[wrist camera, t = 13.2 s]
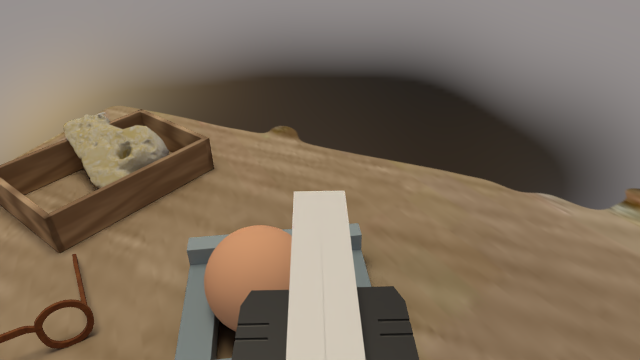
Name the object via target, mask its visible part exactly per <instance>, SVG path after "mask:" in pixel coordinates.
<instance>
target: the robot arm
mask: <svg viewBox="0 0 640 360" xmlns="http://www.w3.org/2000/svg"><path fill="white" fill-rule="evenodd" d="M237 324H238V326H237V329H236V336H235V342H234V348H233V354H232V360H419V357H418V353H417V349H416V345H415V340H414V337H413V332H412V328H411V324H410V322H409V315H408V311H407V307H406V303H405V300H404V299H403V298H402V297H401V295H400V294H399V293H398V292H397V290H396V289H395V288H394V287H393V286H389V287H357V286H356V278H355V270H354V262H353V254H352V246H351V238H350V230H349V222H348V213H347V205H346V197H345V191H300V192H294V202H293V223H292V244H291V265H290V285H289V290H251V292H250V293H249V294H248V296H247V297H246V299H245V300H244V302H243V303H242V304H241V306H240V311H239V317H238V323H237Z"/></svg>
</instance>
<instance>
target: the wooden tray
mask: <svg viewBox="0 0 640 360" xmlns="http://www.w3.org/2000/svg"><path fill="white" fill-rule="evenodd" d="M110 125H113V126H115V127H118V128H121V129H126V128H129V127H133V126H135V125H140V126H147V127H148V128H150V129H151V130H152V131H153V132H155V133H156V134H157V135H158V136H159V137H160V138H161V139H162V140H163V142H164V144H165V146H166V147H167V149H168V150H169V151H171V152H173V153H171V154H169V155H167V156H165V157H163V158H161V159H159V160H157V161H155V162H153V163H151V164H149V165H147V166H145V167H143V168H141V169H139V170H137V171H134V172H132V173H130V174H128V175H126V176H124V177H122V178H120V179H118V180H116V181H114V182H112V183H110V184H108V185H106V186H104V187H102V188H100V189H98V190H96V191H94V192H92V193H89V194H87V195H85V196H83V197H81V198H79V199H77V200H75V201H73V202H71V203H69V204H67V205H65V206H63V207H61V208H59V209H57V210H55V211H53V212H51V213H49V214H48V213H47V212H45V211H44V210H43V209H41V208H40V207H39V206H37V205H36V204H35V203H33V202H32V201H31V200H30V199H28V198H27V197H26V196H24V195H25V194H27V193H29V192H32V191H34V190H36V189H38V188H41V187H43V186H45V185H47V184H49V183H52V182H54V181H56V180H58V179H61V178H63V177H65V176H67V175H69V174H72V173H74V172H76V171H78V170H81V169H83V168H84V167H83V163H82V159H80V158H79V157H78V155H77V154H76V153H75V151H74V148H73V147H72V145H71V144H70V142H69V141H68V140H67V139H65V140H62V141H60V142H57V143H55V144H52V145H50V146H47V147H45V148H42V149H40V150H37V151H35V152H32V153H30V154H27V155H25V156H22V157H20V158H17V159H15V160H12V161H10V162H7V163H5V164H2V165H0V205H1V206H3V207H4V208H5V209H6V210H7V211H9V212H10V213H11V214H12V215H13V216H15V217H16V218H17V219H18V220H20V221H21V222H22V223H23V224H24V225H26V226H27V227H28V228H29V229H30V230H32V231H33V232H34V233H35V234H37V235H38V236H39V237H40V238H41V239H43V240H44V241H45V242H46V243H48V244H49V245H50V246H51V247H52V248H54V249H55V250H56V251H57V252H58V253H61V252H63V251H64V250H66V249H68V248H70V247H72V246H73V245H75V244H77V243H79V242H81V241H83V240H84V239H86V238H88V237H90V236H92V235H93V234H95V233H97V232H99V231H101V230H103V229H104V228H106V227H108V226H110V225H112V224H113V223H115V222H117V221H119V220H121V219H122V218H124V217H126V216H128V215H130V214H132V213H133V212H135V211H137V210H139V209H141V208H142V207H144V206H146V205H148V204H150V203H152V202H153V201H155V200H157V199H159V198H161V197H162V196H164V195H166V194H168V193H170V192H172V191H173V190H175V189H177V188H179V187H181V186H182V185H184V184H186V183H188V182H190V181H191V180H193V179H195V178H197V177H199V176H201V175H202V174H204V173H206V172H208V171H210V170H211V169H213V168H214V165H213V159H212V153H211V147H210V141H209V138H208V137H205V136H203V135H201V134H198V133H196V132H194V131H191V130H189V129H187V128H184V127H182V126H180V125H177V124H175V123H173V122H170V121H168V120H166V119H163V118H161V117H158V116H156V115H154V114H151V113H149V112H147V111H144V110H142V109H140V110H138V111H135V112H133V113H130V114H128V115H125V116H123V117H120V118H118V119H115V120H113V121H110Z"/></svg>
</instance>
